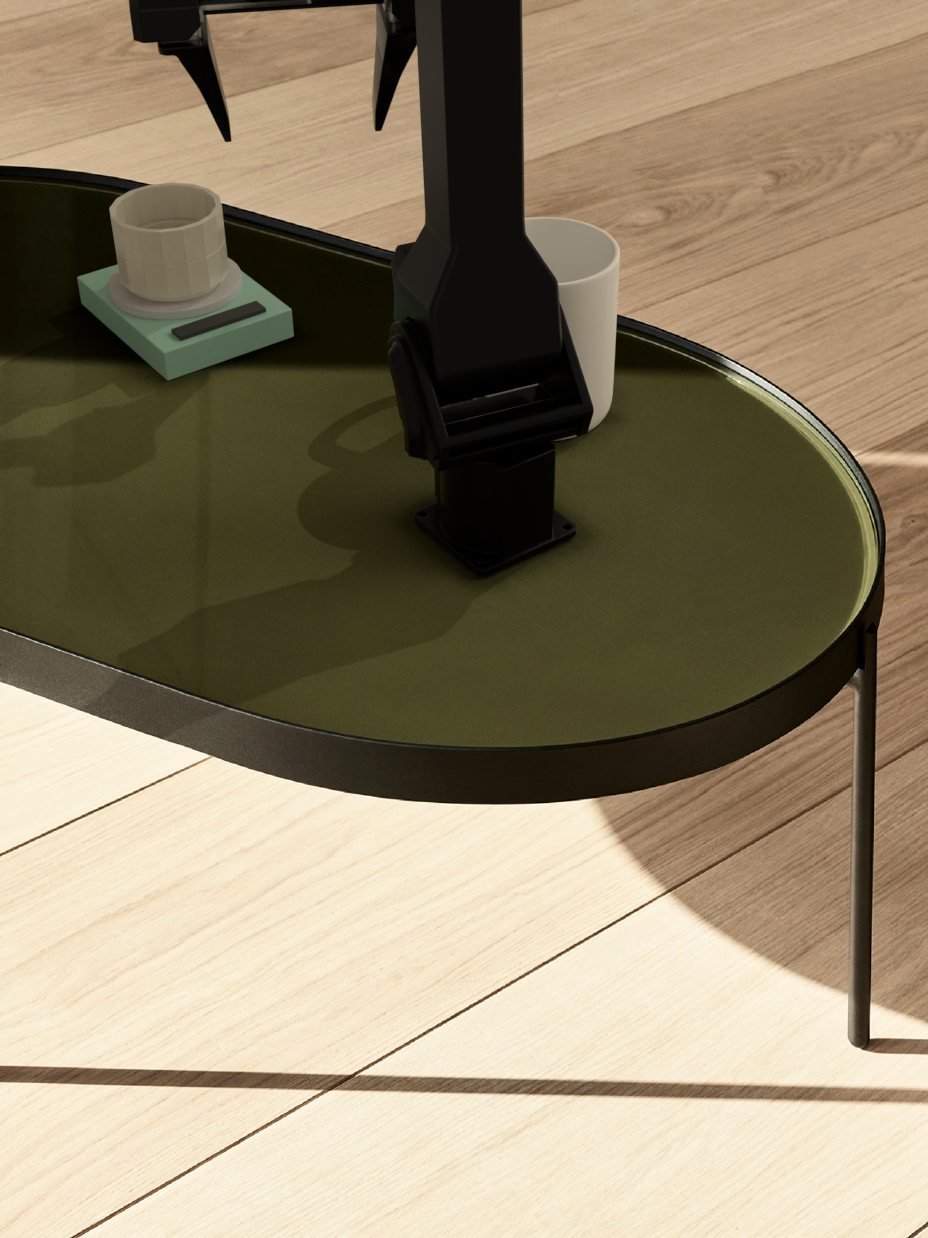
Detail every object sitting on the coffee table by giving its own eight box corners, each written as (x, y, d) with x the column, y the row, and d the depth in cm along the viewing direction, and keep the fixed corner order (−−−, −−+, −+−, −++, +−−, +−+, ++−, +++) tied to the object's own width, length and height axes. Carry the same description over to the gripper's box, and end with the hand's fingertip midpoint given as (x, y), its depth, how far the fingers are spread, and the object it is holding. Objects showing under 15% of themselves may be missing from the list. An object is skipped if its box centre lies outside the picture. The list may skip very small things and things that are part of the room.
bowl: (248, 284, 106) (241, 211, 103) (152, 316, 103) (141, 242, 100) (196, 244, 110) (188, 173, 107) (102, 274, 107) (90, 201, 104)
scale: (294, 336, 106) (291, 300, 104) (167, 381, 102) (162, 343, 100) (202, 265, 114) (198, 229, 112) (81, 303, 110) (74, 267, 108)
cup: (559, 461, 95) (564, 300, 88) (394, 394, 101) (387, 239, 94) (639, 397, 100) (648, 241, 93) (477, 338, 106) (476, 186, 99)
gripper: (429, -181, 101) (435, 74, 110) (115, -165, 99) (149, 93, 108) (456, -128, 92) (460, 143, 102) (112, -109, 90) (150, 166, 100)
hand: (303, 133), depth 103 cm, fingers open, 9 cm apart
